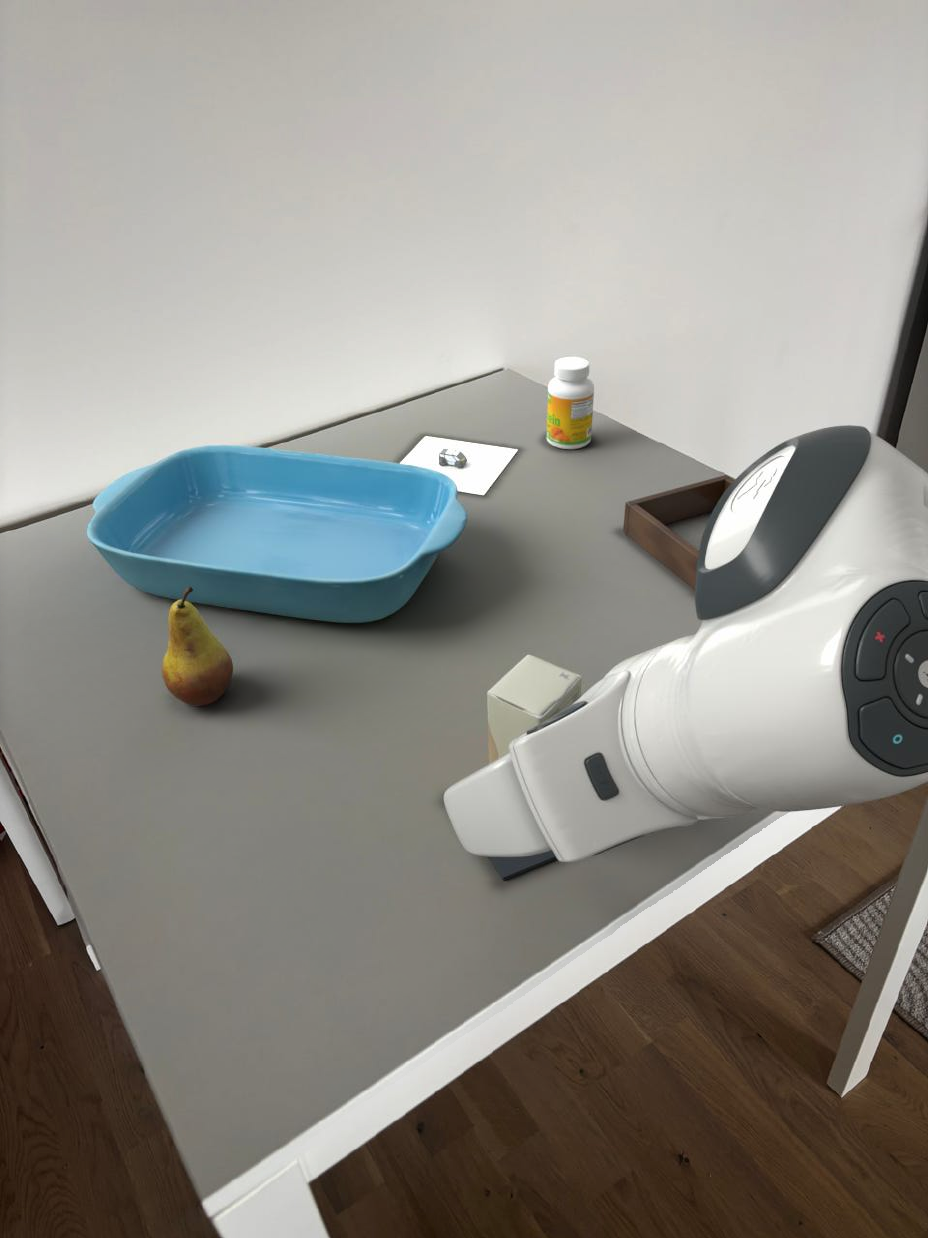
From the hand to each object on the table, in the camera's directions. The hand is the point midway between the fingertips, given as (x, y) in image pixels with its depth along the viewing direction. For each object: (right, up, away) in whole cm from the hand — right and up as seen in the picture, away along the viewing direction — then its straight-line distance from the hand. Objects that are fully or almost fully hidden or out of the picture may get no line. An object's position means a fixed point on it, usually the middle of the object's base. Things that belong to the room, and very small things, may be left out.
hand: (554, 761), depth 61 cm
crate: (+19, +16, +35) cm, 43 cm away
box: (-1, -4, +7) cm, 8 cm away
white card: (-7, +27, +51) cm, 58 cm away
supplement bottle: (+7, +30, +56) cm, 64 cm away
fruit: (-27, +3, +18) cm, 33 cm away
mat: (-1, -5, +6) cm, 8 cm away
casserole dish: (-23, +14, +34) cm, 44 cm away
